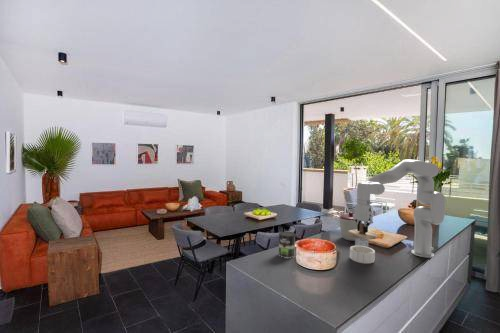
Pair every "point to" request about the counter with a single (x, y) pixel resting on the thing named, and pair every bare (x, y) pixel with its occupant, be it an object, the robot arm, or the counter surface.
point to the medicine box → (361, 242)
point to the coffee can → (286, 244)
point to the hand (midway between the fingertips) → (362, 231)
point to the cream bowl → (362, 254)
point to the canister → (347, 226)
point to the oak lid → (362, 233)
